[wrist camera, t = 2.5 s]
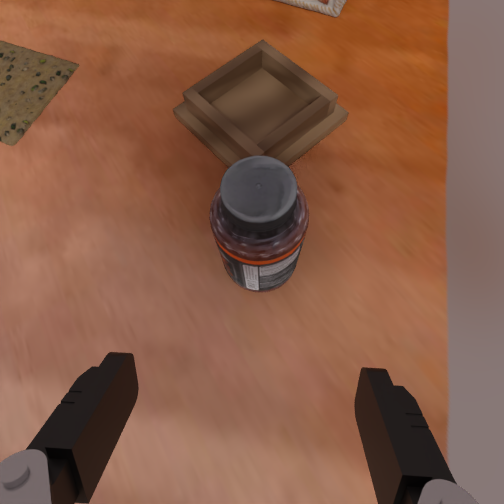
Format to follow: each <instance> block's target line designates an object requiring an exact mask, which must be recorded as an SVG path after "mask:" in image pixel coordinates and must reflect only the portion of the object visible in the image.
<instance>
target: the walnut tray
mask: <svg viewBox="0 0 504 504" xmlns="http://www.w3.org/2000/svg"><path fill="white" fill-rule="evenodd" d="M183 97H184V100H185V101H184V102H183V103H181V104H180V105H178V106H177V107H175V108H174V109H173V112H174V115H175V117H176V118H177V119H178V120H179V121H180V122H181V123H182V124H183V125H184V126H185V127H186V128H188V129H189V130H190V131H191V132H192V133H193V134H194V135H195V136H196V137H197V138H198V139H199V140H200V141H201V142H202V143H203V144H204V145H206V146H207V147H208V148H209V149H210V150H211V151H212V152H213V153H214V154H215V155H216V156H217V157H218V158H219V159H220V160H221V161H222V162H223V163H225V164H226V165H227V166H228V167H231V166H232V165H233V164H234V163H236V162H237V161H239V160H241V159H243V158H246V157H250V156H256V155H257V156H268V157H272V158H275V159H277V160H280V161H281V162H283V163H284V164H285V165H286V166H290V165H291V164H292V163H293V162H295V161H296V160H297V159H298V158H300V157H301V156H302V155H303V154H305V153H306V152H307V151H308V150H310V149H311V148H312V147H313V146H315V145H316V144H317V143H318V142H320V141H321V140H322V139H323V138H325V137H326V136H327V135H328V134H330V133H331V132H332V131H333V130H335V129H336V128H337V127H338V126H340V125H341V124H342V123H343V122H345V121H346V119H347V116H348V113H349V112H347V111H346V110H345V109H343V108H342V107H341V106H339V105H338V104H337V103H336V102H337V98H338V95H337V94H336V93H334V92H333V91H332V90H330V89H329V88H328V87H326V86H325V85H324V84H322V83H321V82H320V81H318V80H317V79H315V78H314V77H313V76H311V75H310V74H309V73H307V72H306V71H305V70H303V69H302V68H301V67H299V66H298V65H297V64H295V63H294V62H292V61H291V60H290V59H288V58H287V57H286V56H284V55H283V54H282V53H280V52H279V51H278V50H276V49H275V48H274V47H272V46H271V45H269V44H268V43H267V42H265V41H264V40H261V41H260V42H258V43H257V44H255V45H254V46H252V47H251V48H249V49H248V50H246V51H245V52H243V53H242V54H240V55H239V56H237V57H236V58H234V59H233V60H231V61H230V62H228V63H227V64H225V65H224V66H222V67H220V68H219V69H217V70H216V71H214V72H213V73H211V74H210V75H208V76H207V77H205V78H204V79H202V80H201V81H199V82H198V83H196V84H195V85H193V86H192V87H190V88H189V89H187V90H186V91H184V92H183Z"/></svg>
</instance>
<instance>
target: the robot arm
mask: <svg viewBox="0 0 504 504" xmlns="http://www.w3.org/2000/svg"><path fill="white" fill-rule="evenodd" d="M137 396H138V380H137V374H136V368H135V362H134V356H133V354H132V353H118V352H110V353H108V354H107V355H106V357H105V358H104V360H103V361H102V363H101V364H100V366H99V367H93V366H92V367H91V368H90V369H88V370H87V371H86V372H84V373H83V374H82V375H81V376H79V377H78V378H77V380H76V381H75V382H74V384H73V385H72V387H71V388H70V389H69V392H68V393H67V394H66V395H65V396H64V398H63V399H62V400H61V404H59V405H58V406H57V407H56V409H55V410H54V412H53V413H52V414H51V416H50V417H49V418H48V420H47V421H46V423H45V424H44V425H43V427H42V428H41V430H40V431H39V432H38V434H37V435H36V436H35V438H34V439H33V441H32V442H31V443H30V445H29V446H28V447H27V448H26V450H24V451H20V452H18V453H15V454H13V455H11V456H9V457H8V458H6V459H5V460H3V461H2V462H1V463H0V504H74V503H87V504H89V502H90V499H91V497H92V495H93V493H94V491H95V489H96V487H97V484H98V482H99V480H100V478H101V476H102V474H103V472H104V469H105V467H106V465H107V463H108V461H109V459H110V457H111V454H112V452H113V450H114V448H115V446H116V444H117V442H118V439H119V437H120V435H121V433H122V431H123V429H124V427H125V425H126V422H127V420H128V418H129V416H130V414H131V412H132V410H133V407H134V405H135V403H136V400H137ZM355 417H356V421H357V425H358V429H359V433H360V436H361V440H362V444H363V448H364V452H365V456H366V459H367V463H368V467H369V471H370V475H371V478H372V482H373V486H374V490H375V494H376V498H377V501H378V504H478V502H477V501H476V500H475V499H474V498H473V497H472V496H471V495H470V494H469V493H468V492H467V491H466V490H464V489H463V488H462V487H460V486H458V485H457V483H456V482H455V480H454V478H453V476H452V474H451V472H450V470H449V468H448V466H447V464H446V462H445V460H444V457H443V455H442V453H441V451H440V449H439V447H438V445H437V443H436V441H435V439H434V437H433V435H432V433H431V431H430V430H429V428H428V427H429V426H428V424H427V422H426V420H425V418H424V417H423V416H422V412H421V410H420V408H419V406H418V404H417V402H416V400H415V398H414V397H413V396H412V395H411V394H410V393H409V392H408V391H407V390H406V389H405V388H404V387H403V386H394V385H393V383H392V381H391V379H390V376H389V374H388V372H387V370H386V369H381V368H364V367H363V368H362V369H361V372H360V377H359V382H358V387H357V392H356V397H355Z"/></svg>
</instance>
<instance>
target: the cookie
mask: <svg viewBox="0 0 504 504" xmlns="http://www.w3.org/2000/svg"><path fill="white" fill-rule="evenodd" d="M78 67H79V64H76V63H73V62H69V61H67V60H63V59H60V58H56V57H54V56H50V55H46V54H43V53H40V52H36V51H33V50H30V49H26V48H24V47H19V46H16V45H13V44H10V43H7V42H4V41H0V141H1V142H3V143H5V144H7V145H11V146H13V145H15V144H16V143H17V142H18V141H19V140H20V139H21V138H22V137H23V135H24V133H25V132H26V131H27V130H28V128H29V127H30V126H31V124H32V123H33V122H34V121H35V120H36V119H37V118H38V116H39V115H40V114H41V113H42V111H43V110H44V108H45V107H46V106H47V105H48V104H49V102H50V101H51V100H52V99H53V97H54V96H55V95H56V94H57V92H58V91H59V90H60V89H61V88H62V87H63V85H64V84H66V82H67V81H68V79H69V78H70V77H71V75H72V74H73V73H74V71H75V70H76V69H77V68H78Z"/></svg>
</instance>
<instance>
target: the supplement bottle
mask: <svg viewBox="0 0 504 504" xmlns="http://www.w3.org/2000/svg"><path fill="white" fill-rule="evenodd" d="M209 218H210V223H211V228H212V231H213V234H214V237H215V240H216V243H217V246H218V248H219V251H220V254H221V257H222V260H223V263H224V266H225V269H226V270H227V272H228V274H229V276H230V277H231V278H232V280H233V281H234V282H235V283H236V284H238V285H239V286H240V287H242V288H244V289H246V290H249V291H253V292H268V291H272V290H275V289H277V288H279V287H280V286H282V285H283V284H284V283H285V282H286V281H287V280H288V279H289V278H290V277H291V275H292V273H293V271H294V269H295V267H296V264H297V260H298V257H299V254H300V251H301V248H302V244H303V241H304V237H305V234H306V230H307V227H308V222H309V209H308V204H307V200H306V198H305V195H304V194H303V192H302V191H301V189H300V188H299V187H298V185H297V182H296V178H295V176H294V174H293V173H292V171H291V170H290V168H289V167H288V166H286V165H285V164H284V163H283V162H281V161H280V160H277V159H275V158H272V157H268V156H257V155H256V156H250V157H246V158H243V159H241V160H239V161H237V162H236V163H234V164H233V165H232V166H231V167H229V168H228V169H227V171H226V172H225V174H224V176H223V178H222V181H221V185H220V188H219V189H218V191H217V192H216V194H215V196H214V198H213V200H212V203H211V208H210V217H209Z"/></svg>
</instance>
